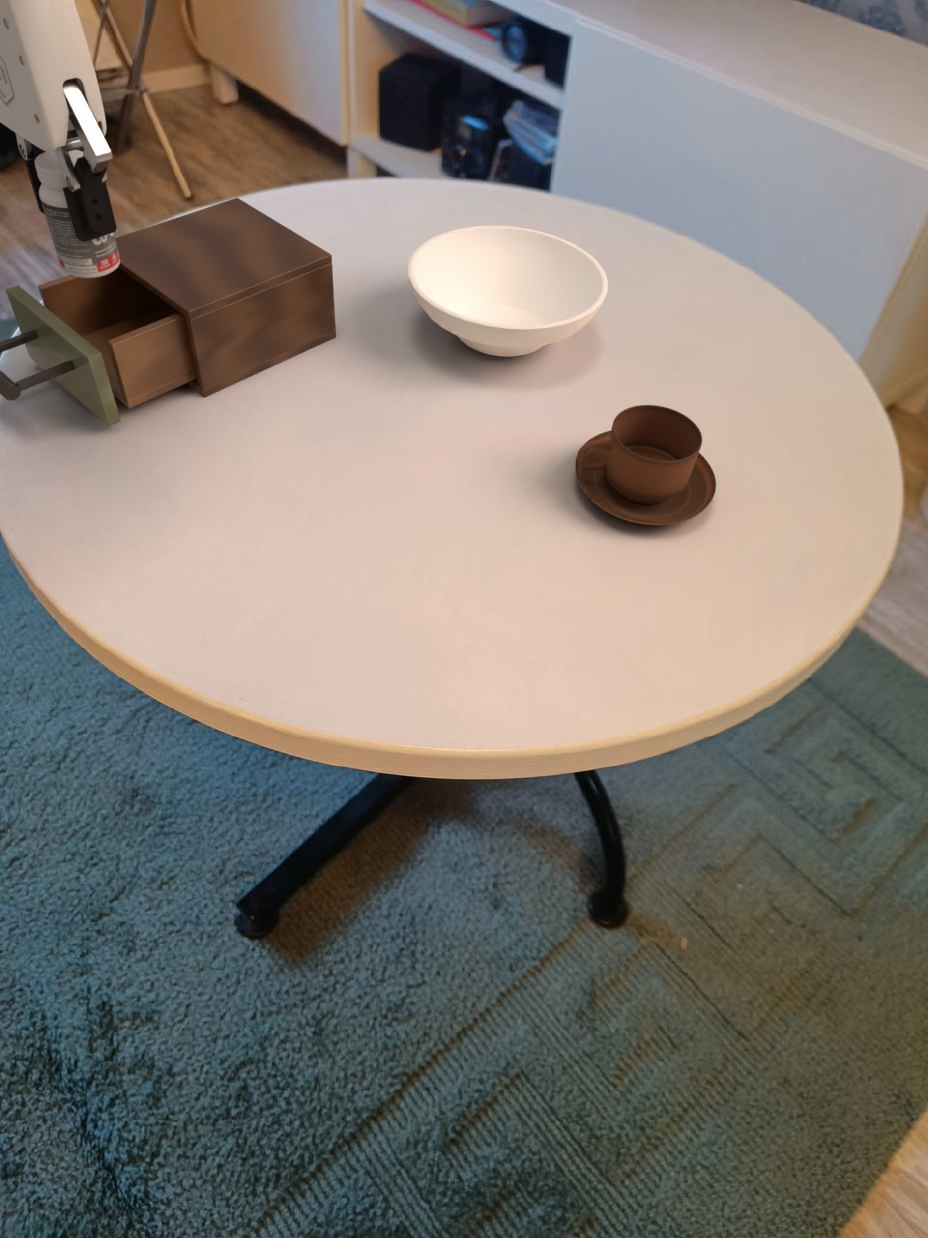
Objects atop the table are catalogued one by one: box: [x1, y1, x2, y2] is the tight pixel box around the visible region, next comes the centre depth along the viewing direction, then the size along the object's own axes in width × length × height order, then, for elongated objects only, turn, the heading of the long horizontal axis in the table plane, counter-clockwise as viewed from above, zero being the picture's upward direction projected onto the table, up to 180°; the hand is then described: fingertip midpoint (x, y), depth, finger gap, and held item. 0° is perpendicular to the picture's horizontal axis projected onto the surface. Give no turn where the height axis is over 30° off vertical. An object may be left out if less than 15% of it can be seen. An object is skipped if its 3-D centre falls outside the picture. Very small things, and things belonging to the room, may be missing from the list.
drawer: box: [0, 267, 197, 427], centre depth 77 cm, size 21×13×7 cm, turn 136°
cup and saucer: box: [574, 404, 717, 526], centre depth 73 cm, size 12×12×6 cm
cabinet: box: [115, 197, 337, 398], centre depth 83 cm, size 16×15×9 cm
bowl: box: [407, 224, 609, 358], centre depth 86 cm, size 20×20×7 cm
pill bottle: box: [35, 149, 120, 278], centre depth 69 cm, size 5×5×8 cm
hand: (78, 219), depth 69 cm, fingers closed on pill bottle, 4 cm apart
